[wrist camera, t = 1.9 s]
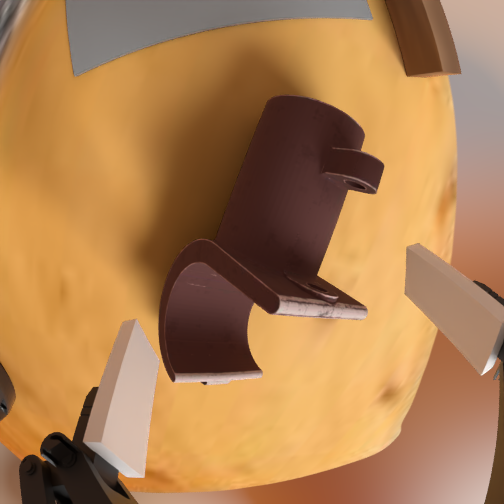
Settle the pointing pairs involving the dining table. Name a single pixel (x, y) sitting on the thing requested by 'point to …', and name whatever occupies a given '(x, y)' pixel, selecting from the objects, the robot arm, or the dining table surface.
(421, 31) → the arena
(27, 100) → the dining table surface
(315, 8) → the mat
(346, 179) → the bracket
